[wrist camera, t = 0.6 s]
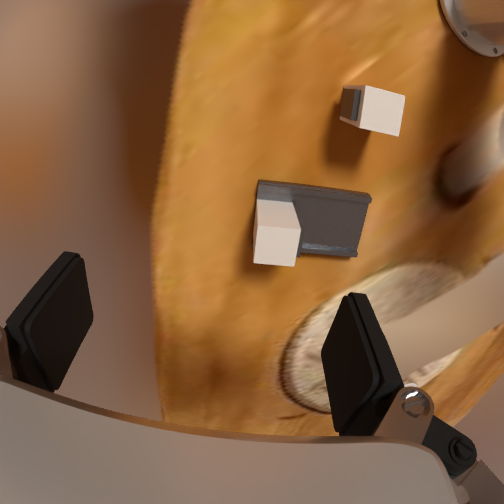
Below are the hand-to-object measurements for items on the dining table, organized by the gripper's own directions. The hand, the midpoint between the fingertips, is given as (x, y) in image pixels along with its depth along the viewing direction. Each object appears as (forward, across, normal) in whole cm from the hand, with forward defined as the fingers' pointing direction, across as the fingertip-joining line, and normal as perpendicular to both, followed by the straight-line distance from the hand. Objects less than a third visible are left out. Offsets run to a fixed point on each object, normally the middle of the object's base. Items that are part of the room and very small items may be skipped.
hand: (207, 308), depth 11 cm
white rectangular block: (+26, -12, -8) cm, 30 cm away
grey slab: (+26, -9, +6) cm, 28 cm away
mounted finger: (+25, -5, +7) cm, 26 cm away
